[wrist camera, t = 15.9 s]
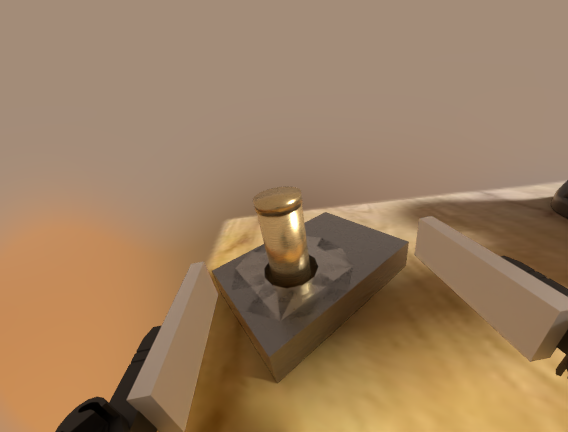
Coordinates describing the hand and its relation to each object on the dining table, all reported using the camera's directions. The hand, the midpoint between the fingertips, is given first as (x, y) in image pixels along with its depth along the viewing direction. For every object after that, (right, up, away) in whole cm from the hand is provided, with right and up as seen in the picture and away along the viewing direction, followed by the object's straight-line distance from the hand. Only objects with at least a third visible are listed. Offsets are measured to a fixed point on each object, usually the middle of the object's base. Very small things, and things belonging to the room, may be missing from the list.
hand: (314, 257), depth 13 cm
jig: (+2, -6, +17) cm, 18 cm away
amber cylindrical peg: (0, -8, +16) cm, 17 cm away
